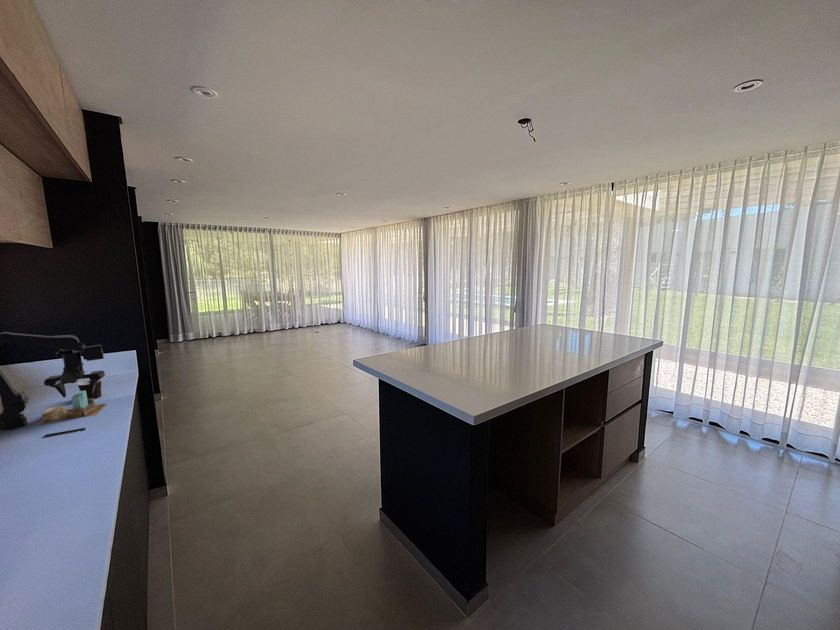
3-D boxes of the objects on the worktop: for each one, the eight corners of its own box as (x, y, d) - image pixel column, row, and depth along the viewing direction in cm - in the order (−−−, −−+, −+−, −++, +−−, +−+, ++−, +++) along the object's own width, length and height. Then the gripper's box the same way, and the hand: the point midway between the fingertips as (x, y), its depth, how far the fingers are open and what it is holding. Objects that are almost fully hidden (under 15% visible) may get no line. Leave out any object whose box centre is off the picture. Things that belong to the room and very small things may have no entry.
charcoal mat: (43, 438, 135) (42, 436, 135) (56, 426, 145) (55, 425, 145) (83, 430, 141) (82, 429, 141) (92, 419, 150) (92, 418, 150)
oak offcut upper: (42, 417, 146) (41, 414, 146) (49, 411, 152) (49, 408, 152) (57, 415, 149) (57, 411, 148) (64, 408, 155) (64, 405, 154)
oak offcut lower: (43, 420, 146) (42, 417, 146) (51, 414, 152) (50, 411, 152) (59, 418, 149) (58, 415, 148) (66, 412, 155) (65, 408, 154)
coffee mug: (85, 398, 173) (82, 380, 171) (107, 395, 177) (104, 377, 175) (74, 407, 163) (70, 388, 161) (97, 404, 166) (94, 385, 165)
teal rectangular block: (74, 416, 151) (71, 397, 149) (81, 409, 158) (78, 391, 156) (82, 415, 152) (78, 396, 150) (88, 408, 159) (85, 390, 157)
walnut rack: (35, 428, 143) (32, 416, 142) (50, 414, 155) (48, 403, 154) (97, 418, 152) (95, 406, 151) (107, 406, 164) (105, 395, 163)
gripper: (34, 371, 139) (41, 406, 142) (93, 365, 148) (99, 398, 151) (47, 364, 149) (53, 396, 152) (102, 358, 158) (107, 389, 160)
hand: (78, 395), depth 153 cm, fingers open, 9 cm apart
